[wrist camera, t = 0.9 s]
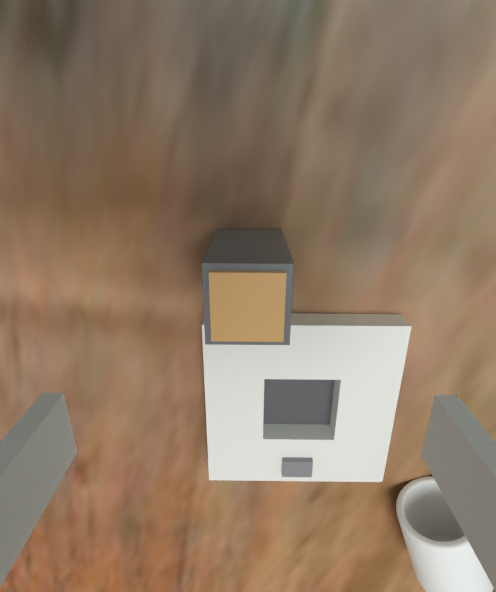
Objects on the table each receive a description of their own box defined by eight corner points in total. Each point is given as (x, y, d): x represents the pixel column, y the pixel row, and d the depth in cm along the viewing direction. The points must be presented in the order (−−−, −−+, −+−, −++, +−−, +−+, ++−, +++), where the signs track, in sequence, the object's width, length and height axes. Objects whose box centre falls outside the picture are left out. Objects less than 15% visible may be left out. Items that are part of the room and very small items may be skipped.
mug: (402, 541, 46) (432, 618, 38) (385, 485, 42) (413, 557, 35) (503, 518, 44) (554, 593, 36) (493, 457, 40) (547, 527, 33)
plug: (216, 229, 31) (200, 265, 22) (281, 229, 31) (294, 265, 22) (218, 289, 33) (204, 347, 24) (279, 290, 33) (290, 348, 24)
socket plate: (205, 312, 34) (200, 327, 31) (400, 314, 34) (414, 329, 31) (211, 461, 41) (208, 484, 38) (374, 462, 41) (384, 486, 38)
